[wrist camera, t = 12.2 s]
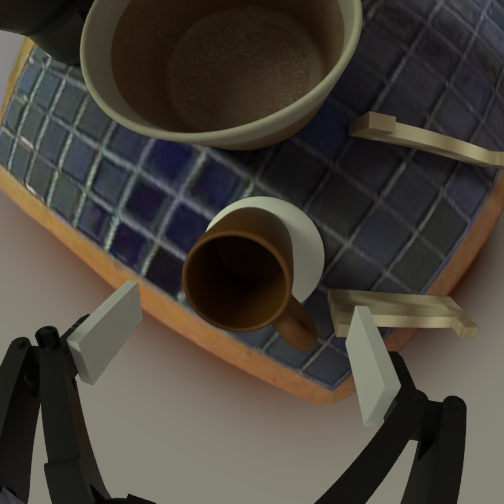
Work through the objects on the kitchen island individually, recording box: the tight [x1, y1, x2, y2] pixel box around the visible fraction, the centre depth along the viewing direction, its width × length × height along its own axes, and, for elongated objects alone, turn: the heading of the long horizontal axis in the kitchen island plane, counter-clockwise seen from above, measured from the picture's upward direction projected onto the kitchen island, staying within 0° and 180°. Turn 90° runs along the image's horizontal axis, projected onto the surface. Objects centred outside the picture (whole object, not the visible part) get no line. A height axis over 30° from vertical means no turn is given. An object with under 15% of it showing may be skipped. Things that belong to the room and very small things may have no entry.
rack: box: [327, 111, 504, 338], centre depth 22 cm, size 15×17×7 cm
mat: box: [206, 196, 324, 303], centre depth 28 cm, size 12×12×1 cm
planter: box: [80, 0, 363, 150], centre depth 17 cm, size 16×16×14 cm
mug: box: [182, 207, 318, 351], centre depth 23 cm, size 12×8×9 cm, turn 45°
